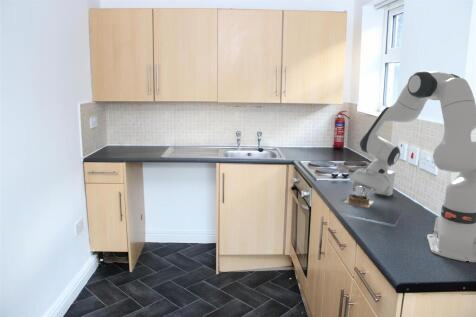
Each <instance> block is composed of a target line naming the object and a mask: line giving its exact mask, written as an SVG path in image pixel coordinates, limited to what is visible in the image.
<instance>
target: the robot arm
mask: <svg viewBox="0 0 476 317" xmlns="http://www.w3.org/2000/svg"><path fill="white" fill-rule="evenodd" d="M428 100H431V101H439V102H440V107H441V114H442V118H443V124H444V125H443V126H444V132H443V138H442V140H441V142H440V143H439V144H438V145H437V146H436V147H435V149H434V151H433V154H432V160H433V163H434V165H435V166H436V167H437V169H439V170H441V171H445V172H449V173H459V174H458V175H457V177H456V178H454V179H453V180H451V181H450V182H449V183H448V184H447V185H446V189H445V195H444V200H443V204H442V205H441V209H440V210H441V211H440V215H439V216H437V217H436V218H435V223H434V227H433V230H432V234H431V233H429V234H427V236H426V239H427V241H428V242H427V243H428V246H429V249H430V251H431V253H433V254H435V255H438V256H441V257H443V258H447V259H450V260H451V259H453V260H456V261H461V262H466V261H469V262H468V263H476V141H472V138H471V137H472V136H471V135H472V131H474V130H475V129H476V100H475V96H474V93H473V90H472V89H471V86H470V84H469V82H468V81H467V79H465V78H462V77H460V76H459V75H456V74H453V73H446V72H440V71H430V70H429V71H427V70H420V71H416V72H414V73H412V75H410V77H409V79H408V81H407V83H406V85H405V86H404V88H403V89H402V91H401V92H400V94H399V96H398V97H397V100H396V101H395V102H394V103H393V105H388V106H386V107H385V108H384V109H383V110H382V111H381V112H380V114H379V115H378V117H377V118H376V119H375V121H374V122H373V124H372V125H371V126H370V128H369V129H368V131H367V132H366V133H365V135H363V137H362V138H361V139H360V141H359V147H360V150H361V151H362V152H363V153H366V154H368V155H371V157H373V158H374V159H373V160H372V161H371V162H370V164H369V165H368V166H367V167H366V168H364V167H360V168H358V169H357V170H355V171H354V172H353V173H352V174H351V175H350V176H349V181H350V182H351V183H352V184H351V187H350V188H349V190H350V191H351V192H354V193H355V191H356V185H362V186H365V189H368V190H369V191H365V192H364V195H365V196H366V197H369V198H370V196H371V195H373V194H375V191H376V192H379V193H383V192H384V191H385V190H386V188H387V187H388V185H389V183H390V182H391V181H392V179H391V177H390V175H389V174H388V173H387V172H388V170H390V168H391V167H393V165H395V164H396V163H397V162H398V160H399V159H400V157H401V149H400V147H399V146H397V145H396V144H394V143H392V142H391V141H389V140H387V139H385V138H383V137H381V136H379V133H380V131H381V130H382V129H383V127H384V126H385V124H386V123H387V122H394V123H395V122H396V123H409V122H413V121H415V120H416V119H418V117H419V115H420V114H421V113H422V112H423V109H424V107H425V105H426V103H427V101H428Z"/></svg>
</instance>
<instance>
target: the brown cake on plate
mask: <svg viewBox="0 0 476 317" xmlns="http://www.w3.org/2000/svg"><path fill="white" fill-rule="evenodd" d="M370 198H371V197H370V196H369V197H366V196H365V194H364V198H363V199H355V193H352V194H349V195H348V198H346V199H345V200H344V201H343V202H342V203H343V204H346V205H347V204H348V205H351V206H355V207H356V206H357V207H361V208H370V207H371V206H372V205H373V203H374V200H371V199H370Z"/></svg>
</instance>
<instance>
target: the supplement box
mask: <svg viewBox="0 0 476 317" xmlns="http://www.w3.org/2000/svg"><path fill="white" fill-rule="evenodd" d="M387 173H388V174H389V175H390V177H391V179H392V181H391V182H390V183H389V185H388V187H387V188H386V190H385V191H384V192H383V193H379V192H376V191H375V193H374V194H377V195H380V196H381V195H382V196H388V197H390V196H392V195H393V193H394V192H393V190H394V184H395V178H396V177H395V176H396V171H394V170H390V169H388V172H387Z"/></svg>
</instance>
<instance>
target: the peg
mask: <svg viewBox="0 0 476 317" xmlns="http://www.w3.org/2000/svg"><path fill="white" fill-rule="evenodd" d="M355 189H356V190H355V191H354V194H355V199H363V198H364V195H365V189H366V188H365V186H362V185H356V186H355Z"/></svg>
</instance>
